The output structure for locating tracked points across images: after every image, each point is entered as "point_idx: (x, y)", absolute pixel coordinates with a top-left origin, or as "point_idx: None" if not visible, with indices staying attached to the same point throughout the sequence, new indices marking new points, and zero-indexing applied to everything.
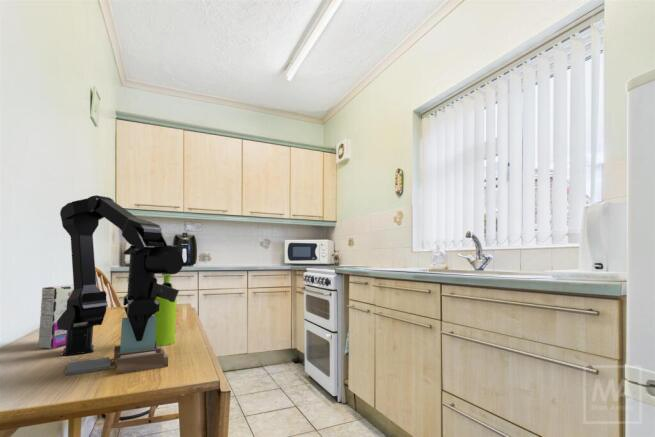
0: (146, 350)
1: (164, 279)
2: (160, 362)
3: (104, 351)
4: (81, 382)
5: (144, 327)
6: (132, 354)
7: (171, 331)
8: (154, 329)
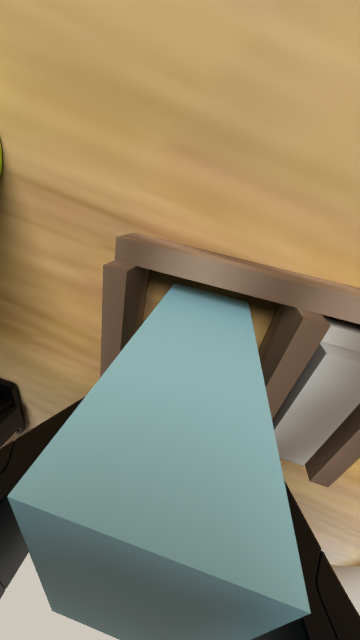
0: (289, 383)
1: None
2: None
3: (15, 360)
4: (294, 488)
5: (314, 551)
6: (283, 427)
7: None
8: (266, 424)
